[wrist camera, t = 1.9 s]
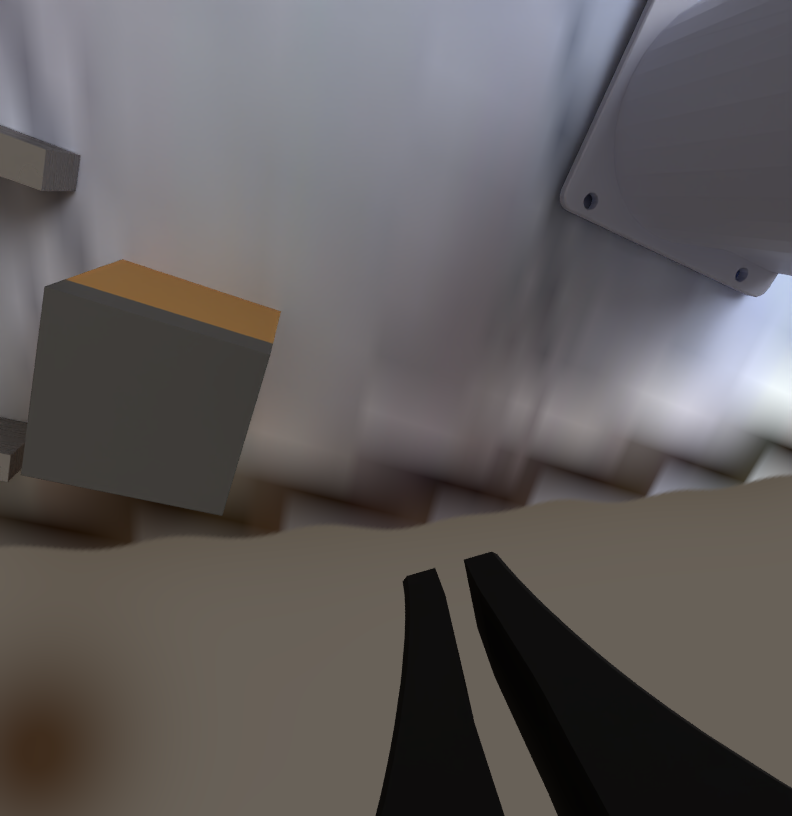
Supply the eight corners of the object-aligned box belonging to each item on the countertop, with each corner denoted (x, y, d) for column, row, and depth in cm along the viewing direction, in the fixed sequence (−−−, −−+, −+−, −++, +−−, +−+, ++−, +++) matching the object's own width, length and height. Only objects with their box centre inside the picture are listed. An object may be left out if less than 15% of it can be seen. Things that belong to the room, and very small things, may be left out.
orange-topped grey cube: (280, 310, 17) (270, 354, 12) (244, 435, 18) (222, 515, 14) (123, 259, 15) (44, 286, 11) (98, 399, 17) (20, 475, 12)
